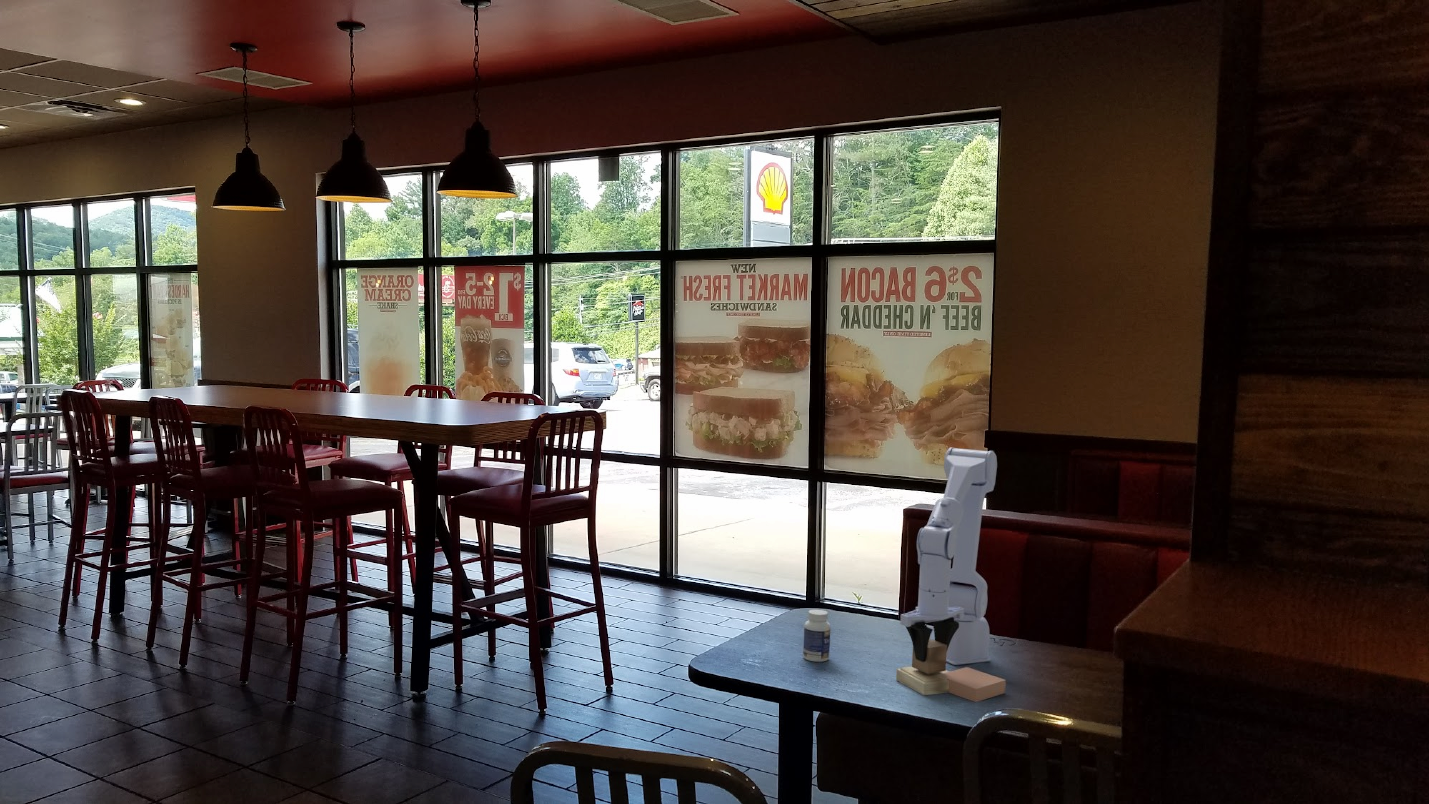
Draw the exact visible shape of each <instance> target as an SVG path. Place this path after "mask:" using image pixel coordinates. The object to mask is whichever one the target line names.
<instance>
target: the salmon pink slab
mask: <svg viewBox="0 0 1429 804" xmlns="http://www.w3.org/2000/svg"><path fill="white" fill-rule="evenodd" d="M939 676H941V677H944V678H947V680H948V681H949V692H948V693H950V694H953V695H955V696H958V697H960V698H964V699H966V700H969V701H972V702H975V703H977V702H981V701H984V700H988V699H990V698H994V697H996V696H999V695H1003V694H1005V693H1006V683H1007V682H1006V681H1007V680H1006V679H1005V678H1001V677H999V676H995V675H992V674H989V673H986V672H983V671H980V670H977V669H974V668H971V667H968V666H964V667H961V668H958V669H955V670H951V671H949V672H947V673H943V674H940V675H939ZM951 677H953V678H951Z"/></svg>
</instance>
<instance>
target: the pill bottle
mask: <svg viewBox="0 0 1429 804" xmlns="http://www.w3.org/2000/svg"><path fill="white" fill-rule="evenodd" d="M828 612H829V611H826V610H824V609H809V610H808V614H807V619H808V620H806V621H805V623H804V627H803V648H802V651H803V652H802V654H803V658H804V660H807V661H810V662H817V663H821V662H822V663H823V662H825V661H828V660H829V658H830V649H831V648H830V647H831V646H830V645H831V630H832V629H831V627H832V626H831V624H830V622H828V618H829V617H828V615H829V613H828Z"/></svg>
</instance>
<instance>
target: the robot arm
mask: <svg viewBox="0 0 1429 804" xmlns="http://www.w3.org/2000/svg"><path fill="white" fill-rule="evenodd" d="M945 452H946V453H945V454H944V460H943V470H944V473H945V477H946V478H947V482H946V487H945V490H944V495H943V497H941V498H939V499H938V500H936V502H935V504H934V506H933V508H932V512H931V514H930V516H929V519H928V521H927V524H926V525H925V526H924V527H921V528H920V529H919V531H918V533H917V538H916V550H917V563H918V565H919V580H918V582H919V583H918V596H917V597H918V601H917V606H915V609H914V610H912V611H908V612H907V613H901V614H900V623H899V624H900V625H902V626H905V629H906V631H907V632H908V634H909V637H910V640H911V643H912V648H913V647H914V652H915V657H916V659H917V660H919V661H921V662H925V661H926V657H927V649H928V642H929V639H931V636H932V632H933V633H934V640H935V641H938V642H940V643H943V644H945V645H947V654H946V663H949V664H951V665H954V666H958V665H959V666H960V665H967V664H975V663H985V662H990V661H991V658H990V657H989V647H990V644H989V643H990V626H989V623H988V621H987V619H986V617H984V616H985V615H986V611H987V606H988V584H987V581H986V580H985V579H984V577H982V575H980V574H979V573H978V572H977V571H976V569H977V560H978V559H977V558H978V553H979V552H978V550H979V542H980V534H981V525H982V524H981V523H982V516H983V507H984V501H985V498H986V494H987V493H990V492H993V491H994V488H995V485H996V477H997V468H998V461H997V460H998V459H997V455H996V453H995V451H994V450H989V451H988V450H979V449H968V448H967V449H966V448H956V447H951V446H950V447H949V448H948V449H947V450H946V451H945ZM951 564H952V568H951ZM954 583H955V584H954ZM956 583H961V584H956ZM963 584H967V585H963ZM969 585H973V586H969ZM974 586H975V587H974ZM927 623H931V624H932V627H933V628H931V627H928V625H927Z"/></svg>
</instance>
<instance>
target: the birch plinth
mask: <svg viewBox="0 0 1429 804" xmlns="http://www.w3.org/2000/svg"><path fill="white" fill-rule="evenodd" d="M947 672H950V671H949V670H947V669H946V671H942V672H936V673H931V674H927V673H925V672H922V671H920V670H918V669H916V668H913V667H912V666H905V667H900V668H896V676H895V680H896V681H897V682H899V683H901V684H902V685H905V686H906V687H908V688H910V689H911V690H913V691H915V692H917V693H918V694H920V695H921V696H929V695H938V694H944V693H949V681H948V680H947V678H944V677H941V676H939V675H940V674H943V673H947ZM951 678H953V677H951Z"/></svg>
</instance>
